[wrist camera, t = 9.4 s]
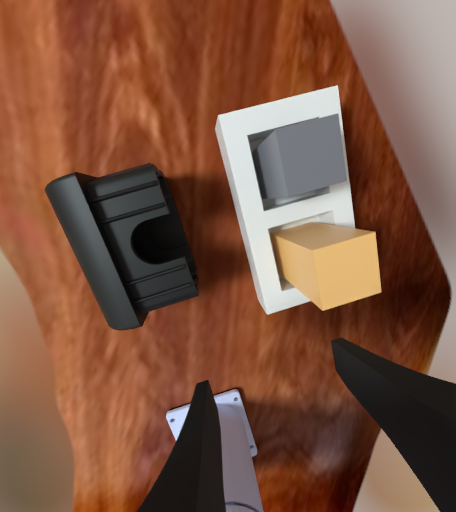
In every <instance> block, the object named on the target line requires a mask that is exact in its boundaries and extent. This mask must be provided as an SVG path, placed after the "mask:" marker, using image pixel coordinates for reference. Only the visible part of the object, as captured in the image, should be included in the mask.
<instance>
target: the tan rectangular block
mask: <svg viewBox="0 0 456 512" xmlns="http://www.w3.org/2000/svg"><path fill="white" fill-rule="evenodd" d="M270 235H271V240H272V244H273V249H274V253H275V258H276V263H277V267H278V272H279V274H280V275H282V276H283V277H284V278H285V279H286V280H287V281H289V282H290V283H291V284H292V285H293V286H294V287H296V288H297V289H298V290H299V291H300V292H301V293H303V294H304V295H305V296H306V297H307V298H308V299H310V300H311V301H312V302H313V303H314V304H315V305H317V306H318V307H319V308H320V309H321V310H322V311H324V310H327V309H330V308H333V307H337V306H340V305H343V304H346V303H349V302H352V301H355V300H359V299H362V298H365V297H368V296H371V295H374V294H378V293H381V283H380V273H379V263H378V253H377V243H376V233H375V232H373V231H367V230H360V229H354V228H348V227H341V226H335V225H328V224H322V223H316V222H308V223H305V224H301V225H298V226H294V227H291V228H287V229H284V230H280V231H277V232H273V233H270Z"/></svg>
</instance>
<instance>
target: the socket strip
mask: <svg viewBox="0 0 456 512" xmlns="http://www.w3.org/2000/svg"><path fill="white" fill-rule="evenodd" d="M215 131H216V135H217V139H218V143H219V147H220V151H221V154H222V158H223V162H224V166H225V170H226V174H227V178H228V182H229V186H230V190H231V194H232V198H233V202H234V206H235V210H236V214H237V218H238V222H239V226H240V230H241V234H242V238H243V242H244V246H245V250H246V254H247V258H248V262H249V265H250V269H251V273H252V277H253V281H254V285H255V289H256V293H257V297H258V301H259V302H260V304H261V306H262V307H263V309H264V310H265V312H266V314H267V315H268V314H271V313H274V312H277V311H281V310H284V309H287V308H290V307H293V306H297V305H300V304H303V303H306V302H309V301H311V300H310V299H308V298H307V297H306V296H305V295H304V294H303V293H301V292H300V291H299V290H298V289H297V288H296V287H294V286H293V285H292V284H291V283H290V282H289V281H287V280H286V279H285V278H284V277H283V276H282V275H280V274H279V272H278V267H277V263H276V258H275V253H274V249H273V244H272V240H271V235H270V233H273V232H277V231H280V230H284V229H287V228H291V227H294V226H298V225H301V224H305V223H308V222H316V223H322V224H328V225H335V226H341V227H348V228H354V229H355V222H354V214H353V206H352V198H351V190H350V182H349V174H348V165H347V157H346V149H345V141H344V133H343V125H342V116H341V108H340V100H339V92H338V85H337V86H333V87H329V88H325V89H321V90H317V91H313V92H309V93H305V94H301V95H297V96H293V97H289V98H285V99H281V100H277V101H273V102H269V103H265V104H261V105H257V106H253V107H249V108H245V109H241V110H237V111H233V112H229V113H225V114H221V115H218V118H217V123H216V127H215Z"/></svg>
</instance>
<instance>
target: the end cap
mask: <svg viewBox="0 0 456 512" xmlns="http://www.w3.org/2000/svg"><path fill="white" fill-rule="evenodd" d="M45 192H46V194H47V196H48V198H49V201H50V203H51V205H52V207H53V209H54V211H55V213H56V215H57V218H58V220H59V222H60V224H61V226H62V228H63V230H64V232H65V234H66V237H67V239H68V241H69V243H70V245H71V247H72V249H73V251H74V253H75V256H76V258H77V260H78V262H79V264H80V266H81V268H82V270H83V272H84V275H85V277H86V279H87V281H88V283H89V285H90V287H91V289H92V292H93V294H94V296H95V298H96V300H97V302H98V304H99V306H100V308H101V311H102V313H103V315H104V317H105V319H106V321H107V323H108V325H109V327H111V328H112V329H115V330H129V329H134V328H138V327H142V326H143V323H144V321H145V319H146V317H147V315H148V313H149V311H152V310H155V309H159V308H162V307H165V306H168V305H171V304H174V303H177V302H180V301H184V300H187V299H190V298H193V297H196V296H198V295H199V292H198V286H197V284H198V275H197V268H196V265H195V262H194V259H193V256H192V253H191V250H190V247H189V244H188V241H187V238H186V235H185V232H184V229H183V226H182V223H181V220H180V217H179V214H178V211H177V208H176V205H175V202H174V199H173V196H172V193H171V190H170V187H169V184H168V182H167V180H166V179H165V177H164V175H163V173H162V172H161V171H160V170H158V169H157V167H156V166H155V165H154V164H151V163H148V164H145V165H141V166H138V167H134V168H131V169H127V170H123V171H120V172H116V173H113V174H109V175H106V176H102V177H98V178H97V177H93V176H89V175H85V174H82V173H78V172H74V173H71V174H68V175H65V176H62V177H60V178H57V179H55V180H53V181H52V182H50V183H49V184H47V186H46V187H45Z"/></svg>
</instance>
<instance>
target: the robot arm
mask: <svg viewBox="0 0 456 512" xmlns="http://www.w3.org/2000/svg"><path fill="white" fill-rule="evenodd" d="M331 343H332V349H333V355H334V361H335V368H336V371H337V373H338V374H339V376H340V377H341V379H342V380H343V382H344V383H345V385H346V386H347V388H348V389H349V390H350V391H351V393H352V394H353V395H354V396H355V397H356V399H357V400H358V401H359V402H360V403H361V404H362V406H363V407H364V408H365V409H366V410H367V412H368V413H369V414H370V415H371V416H372V417H373V419H374V420H375V421H376V422H377V423H378V425H379V426H380V427H381V428H382V429H383V431H384V432H385V433H386V434H387V436H388V437H389V438H390V439H391V441H392V442H393V444H394V445H395V447H396V448H397V449H398V451H399V452H400V454H401V455H402V456H403V458H404V459H405V461H406V462H407V463H408V465H409V466H410V468H411V469H412V471H413V472H414V473H415V475H416V476H417V478H418V479H419V481H420V482H421V484H422V485H423V487H424V488H425V489H426V491H427V492H428V494H429V496H430V497H431V499H432V500H433V501H434V503H435V504H436V506H437V507H438V509H439V510H440V512H456V384H454V383H451V382H447V381H444V380H441V379H437V378H434V377H431V376H428V375H425V374H422V373H419V372H417V371H414V370H411V369H408V368H406V367H403V366H401V365H398V364H396V363H394V362H391V361H389V360H387V359H384V358H382V357H380V356H378V355H376V354H374V353H371V352H369V351H367V350H365V349H363V348H361V347H359V346H357V345H355V344H353V343H351V342H349V341H347V340H345V339H343V338H339V339H335V340H332V341H331ZM236 397H237V398H236ZM166 418H167V421H168V423H169V425H170V428H171V430H172V432H173V435H174V437H175V440H176V443H175V445H174V447H173V449H172V452H171V454H170V456H169V458H168V460H167V462H166V464H165V465H164V467H163V469H162V471H161V473H160V475H159V476H158V478H157V480H156V482H155V484H154V485H153V487H152V489H151V490H150V492H149V493H148V495H147V497H146V498H145V500H144V501H143V503H142V505H141V506H140V508H139V509H138V511H137V512H263V508H262V503H261V499H260V494H259V489H258V485H257V480H256V475H255V470H254V466H253V461H252V457H253V456H255V455H257V448H256V445H255V441H254V438H253V435H252V432H251V429H250V425H249V422H248V419H247V416H246V412H245V409H244V406H243V403H242V400H241V396H240V393H239V391H238V390H237V389H233V390H230V391H227V392H224V393H221V394H218V395H215V396H213V393H212V390H211V387H210V384H209V381H208V380H206V381H203V382H200V383H197V385H196V387H195V391H194V394H193V398H192V401H191V404H188V405H185V406H182V407H179V408H176V409H173V410H170V411H168V412H167V415H166Z"/></svg>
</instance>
